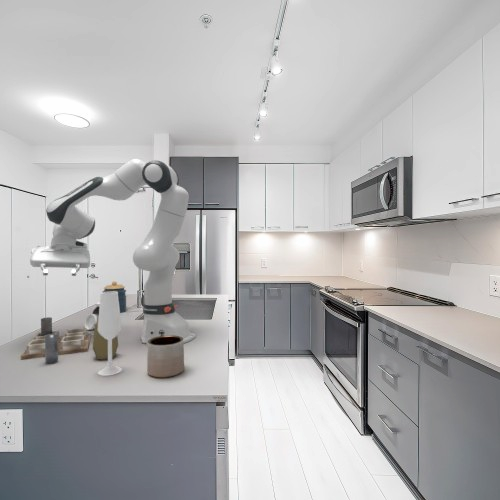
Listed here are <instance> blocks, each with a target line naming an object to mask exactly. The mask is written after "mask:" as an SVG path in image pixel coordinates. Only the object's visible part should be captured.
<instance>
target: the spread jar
mask: <svg viewBox="0 0 500 500" xmlns="http://www.w3.org/2000/svg"><path fill="white" fill-rule="evenodd" d="M99 307H100V301H99V302H96V307H95V308H94V309H93V311H92V314H89V315H88V316H87V317H86V318H85V321H84V328H87V331H92V330H94V329H95V324H96V323H97V322H98V316H99Z"/></svg>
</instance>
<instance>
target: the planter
mask: <svg viewBox="0 0 500 500" xmlns="http://www.w3.org/2000/svg"><path fill="white" fill-rule="evenodd" d="M146 345H147V346H146V347H147V349H146V351H147V353H146V355H147V356H146V359H147V363H146V364H147V365H146V370H147V374H148V375H149V376H151V377H153V378H159V379H166V378H172V377H175V376H178V375H180V374H181V373H182V372H184V369H185V348H184V347H185V343H184V339H183V338H182V337H180V336H175V335H165V336H158V337H154V338H152V339H150V340H148V342H147V343H146Z"/></svg>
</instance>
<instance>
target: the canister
mask: <svg viewBox="0 0 500 500" xmlns="http://www.w3.org/2000/svg"><path fill="white" fill-rule="evenodd" d="M117 283H118V282H117V281H112V282H111V284H107V285H106V286H104V287H103V289H104V290H103V291H102V292H111V291H115V292H118V299H119V308H120V314H121V313H125V312H126V311H127V308H128V306H127V295H126V293H127V290H126V289H125V286H124V285H123V284H119V283H118V284H117Z"/></svg>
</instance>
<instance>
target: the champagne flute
mask: <svg viewBox="0 0 500 500" xmlns="http://www.w3.org/2000/svg"><path fill="white" fill-rule="evenodd" d="M99 297H100V298H99V302H100V307H99V319H98V332H99V334H100V335H101V336H102V337H104V338H105V339H107V340H108V359H107V365H106V366H105V367H103V368H102V369H100V370H99V371H98V372H97V374H98V375H99V376H104V377H105V376H112V375H116V374H118V373H121V372H122V370H123V368H121V367H119V366H117V365H114V364H113V357H112V339H113V338H115V337H116V336H117V337H118V334H120V332H121V331H122V318H121V313H120V308H119V299H118V292H115V291H111V292H103V291H101V292H100V296H99Z"/></svg>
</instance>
